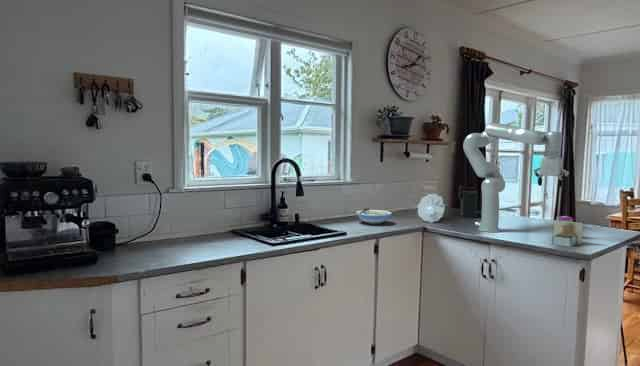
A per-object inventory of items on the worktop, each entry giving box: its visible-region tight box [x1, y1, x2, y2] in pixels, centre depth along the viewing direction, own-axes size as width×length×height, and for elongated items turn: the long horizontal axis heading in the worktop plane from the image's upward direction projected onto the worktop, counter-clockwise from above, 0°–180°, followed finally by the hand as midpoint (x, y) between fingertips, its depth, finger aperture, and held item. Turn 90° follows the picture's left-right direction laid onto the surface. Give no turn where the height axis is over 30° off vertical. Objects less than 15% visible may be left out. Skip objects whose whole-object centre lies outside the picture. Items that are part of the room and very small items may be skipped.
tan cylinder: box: [559, 225, 570, 238], centre depth 216 cm, size 4×4×8 cm
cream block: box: [551, 219, 584, 247], centre depth 217 cm, size 13×11×11 cm
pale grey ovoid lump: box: [417, 193, 446, 223], centre depth 287 cm, size 18×18×25 cm
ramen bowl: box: [356, 207, 392, 225], centre depth 272 cm, size 25×23×8 cm
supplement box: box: [556, 215, 574, 222], centre depth 234 cm, size 6×6×12 cm
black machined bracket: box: [457, 185, 478, 219], centre depth 307 cm, size 12×21×22 cm, turn 169°
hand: (549, 186), depth 228 cm, fingers open, 9 cm apart
